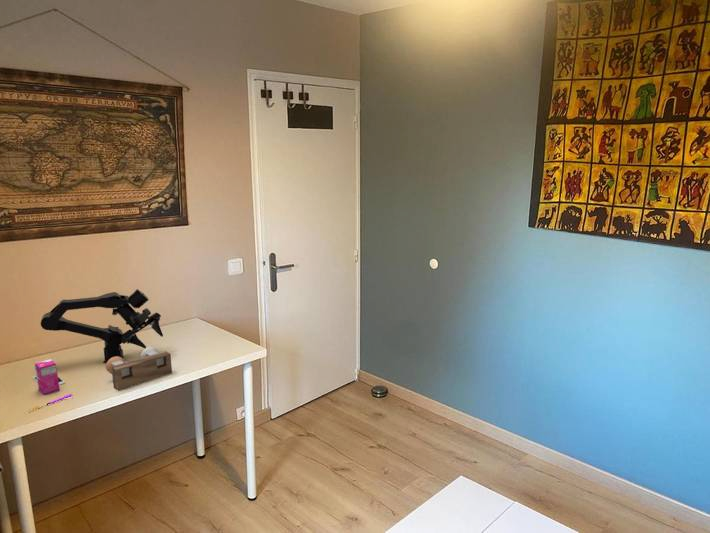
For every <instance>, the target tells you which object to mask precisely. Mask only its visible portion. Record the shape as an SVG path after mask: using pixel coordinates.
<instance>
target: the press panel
mask: <svg viewBox="0 0 710 533" xmlns="http://www.w3.org/2000/svg"><path fill="white" fill-rule="evenodd" d="M162 357H163V359H164V364H163V365H159V366H157V361H156V359H159V358H162ZM128 367H129V371H130V375H127V376H123V377H122V374H121V370H122V369H125V368H128ZM171 374H173V369H172V355H171V352H168V351H166V350H165V351H162V352H158V353H157V354H154V355H150V356H147V357H143V358H141V357H140V358H137V359H134V360H129V361H125V363H123V364H119V365H116V366H112V374H111V375H112V376H111V377H112V386H113V388H114V389H115V390H116V391H117V390H118V391H122V390H125V389H127V388H132V387H134V386H138V385H141V384H143V383H147V382H149V381H152V380H156V379H159V378H162V377H165V376H168V375H171ZM131 386H132V387H131ZM118 391H117V392H118Z"/></svg>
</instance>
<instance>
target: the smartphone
mask: <svg viewBox="0 0 710 533" xmlns="http://www.w3.org/2000/svg"><path fill="white" fill-rule="evenodd" d="M32 377H33V378H34V379H35V380H36V381H37V376H36V375H33V376H32ZM33 378H32V379H33ZM34 379H33V380H34ZM35 380H34V381H35ZM36 381H35V382H36ZM58 381H59V386H61V385H65V384H66V381H65V380H63V379H62V378H61V377H59V376H58Z"/></svg>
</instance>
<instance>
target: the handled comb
mask: <svg viewBox="0 0 710 533" xmlns="http://www.w3.org/2000/svg"><path fill="white" fill-rule="evenodd" d="M71 396H72V397H73V394H72V393H70V394H67V395H64V396H61V397H60V398H56V399H54V400H52V401H49V402H48V403H46V404H47V405H48V404H51V403H53V404H55V403H54V402H56V401H59V400H61V401H63V400H62V399H64V398H68V397H71ZM64 400H65V399H64ZM59 402H60V401H59ZM56 403H57V402H56ZM47 405H46V406H47ZM51 405H52V404H51ZM48 406H49V405H48ZM37 408H41V406H38V405H37V406H36V407H34V408H33V407H32V409H28V410H27V411H31V410H34V409H37Z"/></svg>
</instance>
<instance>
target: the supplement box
mask: <svg viewBox="0 0 710 533" xmlns="http://www.w3.org/2000/svg"><path fill="white" fill-rule="evenodd" d="M34 369H35V376H37V389H38V391H39V392H40V393H41V394H42V396H45V395H49V394H52V392H53V393H55V392H59V391H60V390H61V389H60V385H59V381H58V377H59V375H58V370H57V363H56V362H55V361H54V360H52V359H51V358H48V359H46V360H42V361H37V362H34Z"/></svg>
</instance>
